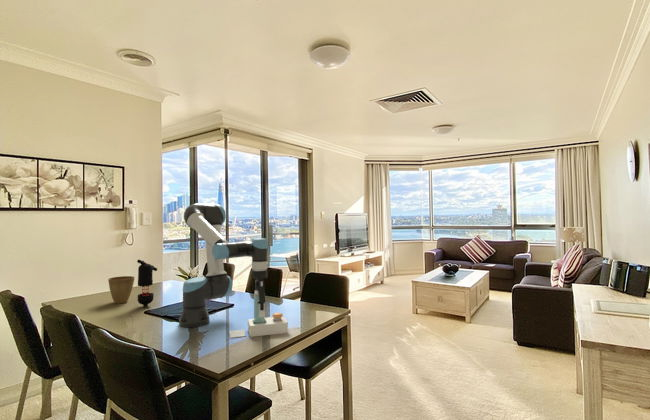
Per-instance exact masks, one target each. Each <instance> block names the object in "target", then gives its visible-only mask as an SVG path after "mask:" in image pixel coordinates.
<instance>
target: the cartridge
mask: <svg viewBox="0 0 650 420" xmlns="http://www.w3.org/2000/svg"><path fill="white" fill-rule="evenodd" d="M253 294H254V295H253V296H254V297H253V301H254V302H253V306H254V307H253V319H254V324H261V323H265V318H266V316H265V317H259V304H258V302H259V295H258V291H257V290H256V291H255V290H254V293H253Z"/></svg>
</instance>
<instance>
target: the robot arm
mask: <svg viewBox="0 0 650 420" xmlns="http://www.w3.org/2000/svg"><path fill="white" fill-rule="evenodd" d="M226 217H227V214H226V211H225V208H224V207H223V206H222V205H221V204H219V203H218V204H216V203H196V202H195V203H192V204H190V205H188V207H186V208H185V210H184V211H183V221H184V223H185V224H186V225H187V226H188V227H189V228H191V229H194V231H195V232H196V233H197V234H198V235H199V236H200V237H201V238H202V239H203V240H204V242H205V250H206V261H207V274H206V275H205V276H198V277H193V278H188V279H187V280H185V281H184V282H183V283H182V284H183V285H182V309H181V310H182V312H181V314H180V317H179V319H178V325H179V326H180V327H183V328H198V327H202V326H205V325H207V324H209V323H210V321H211V319H210V315H209V312H208V309H207V301H212V300H217V299H222V298H225V297H228V296H229V295H230V294H231V292H232V290H233V280H232V278H231V276H229V275H228V272H227V271H225V267H224V260H226V259H235V258H243V257H244V258H245V257H246V258H247V257H250V258H251V269H252V271H251V278H252V279H255V281H254V283H255V285H254V292H255V291H256V290H257V291H258V295H259V302H258V304H259V317H265V318H266V293H265V291H266V290H265V281H264V279H267V278H268V265H269V264H270V263H269V262H268V251H269V250H268V248H269V247H268V239H267V238H265V237H257V238H252V239H251V241H247V240H246V241H245V240H244V241H243V240H242V241H241V240H240V241H238V242H229V241H228V240H227V239H226V238H225V237H224V236H223V235H222V234H221V228H222V227H223V224H224V223H225V221H226V219H227V218H226Z"/></svg>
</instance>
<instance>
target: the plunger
mask: <svg viewBox="0 0 650 420" xmlns="http://www.w3.org/2000/svg"><path fill="white" fill-rule="evenodd" d="M283 315H284V314H283V313H282V312H274V313H272V317H273V318H274V322H275V321H281V317H283Z"/></svg>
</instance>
